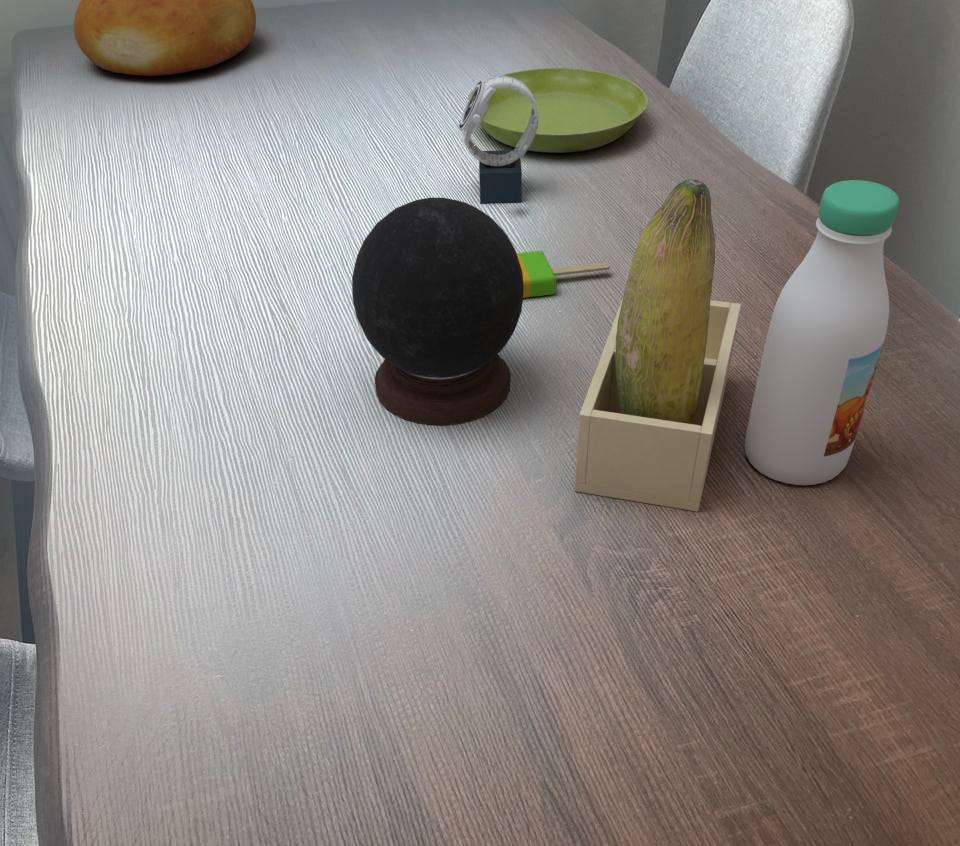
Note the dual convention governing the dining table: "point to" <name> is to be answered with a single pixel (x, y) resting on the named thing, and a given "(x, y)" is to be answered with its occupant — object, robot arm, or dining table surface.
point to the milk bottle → (824, 341)
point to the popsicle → (547, 273)
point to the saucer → (565, 109)
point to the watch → (501, 166)
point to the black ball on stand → (439, 309)
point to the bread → (162, 33)
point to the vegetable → (667, 309)
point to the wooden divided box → (653, 430)
